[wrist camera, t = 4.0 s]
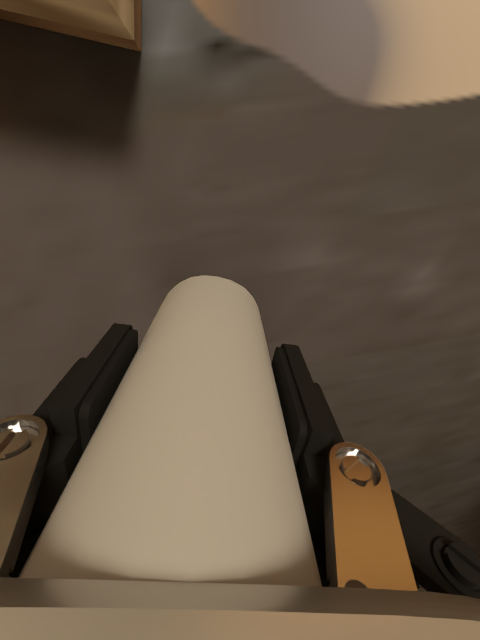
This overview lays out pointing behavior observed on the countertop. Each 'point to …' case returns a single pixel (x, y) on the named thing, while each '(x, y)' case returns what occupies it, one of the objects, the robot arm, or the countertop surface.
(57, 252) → the countertop surface
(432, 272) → the countertop surface
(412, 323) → the countertop surface
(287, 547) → the beverage can
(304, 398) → the robot arm
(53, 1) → the can holder block
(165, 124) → the countertop surface
